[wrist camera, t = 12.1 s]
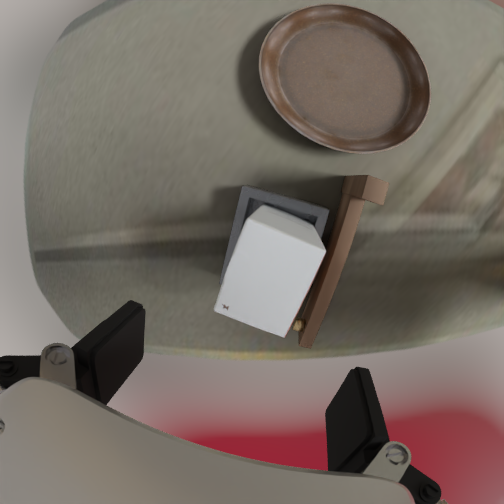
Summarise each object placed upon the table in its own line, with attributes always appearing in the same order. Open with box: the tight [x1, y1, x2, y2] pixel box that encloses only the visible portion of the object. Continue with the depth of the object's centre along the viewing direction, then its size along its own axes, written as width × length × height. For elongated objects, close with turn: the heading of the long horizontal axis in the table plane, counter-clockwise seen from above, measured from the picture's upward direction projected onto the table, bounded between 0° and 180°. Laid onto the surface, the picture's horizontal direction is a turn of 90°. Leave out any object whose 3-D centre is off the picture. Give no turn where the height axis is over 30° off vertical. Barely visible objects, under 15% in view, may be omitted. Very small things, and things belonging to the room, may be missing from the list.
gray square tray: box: [219, 185, 330, 285], centre depth 31 cm, size 10×12×4 cm
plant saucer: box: [259, 3, 431, 154], centre depth 25 cm, size 21×21×3 cm
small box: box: [214, 204, 326, 337], centre depth 26 cm, size 8×6×13 cm
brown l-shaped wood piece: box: [292, 175, 389, 349], centre depth 28 cm, size 3×20×10 cm, turn 165°
